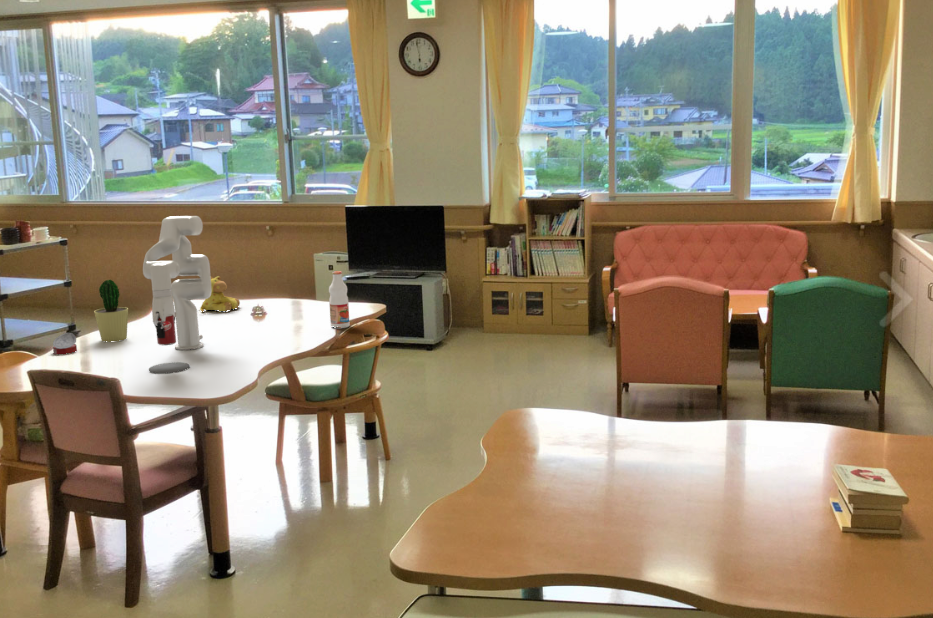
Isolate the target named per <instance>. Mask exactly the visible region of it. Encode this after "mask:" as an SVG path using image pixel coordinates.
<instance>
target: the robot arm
mask: <svg viewBox="0 0 933 618" xmlns="http://www.w3.org/2000/svg"><path fill="white" fill-rule="evenodd" d="M203 227H204V224H203V220H202V218H201V217H200V216H199V215H180V216H179V215H176V216H175V215H174V216H167V217H165V218H163V219H162V221H161V227H160V232H159V233H160V234H159V239H158V242H157V243H155V244H154V245H152V246H151V247H150V248H149V249H148V250H147V251H146V253H145V256H144V259H143V264H142V275H143V276H144V278H145V279H148V280H151V281H150V282H151V290H152V304H151V307H152V308H151V309H152V313H151V314H152V323H153V324H154V327H155V329H157V332H156V339H157V338H165V331H164V328H163V326H164V322H165V321H166V316H170V315H172V314H173V315H174V323H175V324H176V325H175V328H176V334H177V335H176V336H177V337H176V338H177V344H174V349H175V350H177V351H179V350H180V351H190V349H191V350H197V349H200V348H203V347H204V343H203V342H202V341H200V340H202V339H203V335H202V334H200V332H199V331H200V329H199V319H198V311H197V310H198V309H197V306H196V305H195V304H194V302H192V301H194V300H205V299H207V298H209V297H210V296H211V277H212V276H211V264H210V260H209V257H208V256H207V255H205V254H198V253H197V254H193V251H192V250H193V249H192V243H191V241H190V240H189V239H188V237H187V236H200V235H201V234H202V232H203V229H204V228H203ZM169 255H171V256H172V258H171V259H172V260H160V259H161V258H164V257H167V256H169ZM179 276H180V277H190V276H194V277H195V276H198V277H199V278H181V279H176V278H177V277H179ZM172 279H176V280H174V281H173V282H172ZM159 317H160V318H161V319H162V320H161V321H158V319H159ZM160 323H161V325H160Z"/></svg>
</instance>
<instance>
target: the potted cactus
mask: <svg viewBox="0 0 933 618" xmlns="http://www.w3.org/2000/svg"><path fill="white" fill-rule="evenodd" d="M99 283H100V284H101V285H100V284H99V285H100V286H99V287H98V291H99V292H98V293H99V296H98V298H101V300H102V303H101V304H102V305H103V308H99V309H96V310H94V311H93V312H94V316H95V320H96V324H97V327H98V331H99V336H100V339H101V342H103V341H105V342H104V343H112V342H111V341H117V342H120V341H119V340H123V341H125V340H124V339H126V338H127V337H128V323H129V322H128V320H129V308H128V307H126V306H125V307H124V306H119V303H120V302H119V299H120V295H121V294H120V288H118V287H119V285H118V284H117V283H115V280H113V279H106V280H103V281H102V283H101V282H99ZM106 341H107V342H106Z"/></svg>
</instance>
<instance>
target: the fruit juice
mask: <svg viewBox="0 0 933 618" xmlns="http://www.w3.org/2000/svg"><path fill="white" fill-rule="evenodd" d="M331 274H332V281H331V284H330V285H329V286H328V293H329V295H330V296H329V300H328V301H329V318H330V319H329V321H330V322H329V323H330V327H331V326H334V327H337V326H338V327H341V328H340V329H346V328H349V327H350V323H351V322H350V310H349V309H350V308H349V297H348V286H347V284H346V283H345V282H344V279H343V271H342V270H336V271H335V270H334V271H332V273H331Z"/></svg>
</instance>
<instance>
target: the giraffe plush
mask: <svg viewBox="0 0 933 618" xmlns="http://www.w3.org/2000/svg"><path fill="white" fill-rule="evenodd" d="M227 289H228V285H227V283H226V282H225V281H223V280H221V276H219V275H218V276H215V277H213V276H211V296H210V297H209V298H207V299H204V301H203V302H202V304H201V306H200V307H199V310H201V311H202V312H203V311H204V310H219V311H227V310H231V309H235V308H237V309H238V308H239V307H240V304H241V302H240V300H239V299H238V298H234V297H230V296H225V295H224V292H226V290H227ZM238 306H239V307H238ZM201 311H200V312H201ZM231 311H232V310H231ZM202 312H201V313H202Z"/></svg>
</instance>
